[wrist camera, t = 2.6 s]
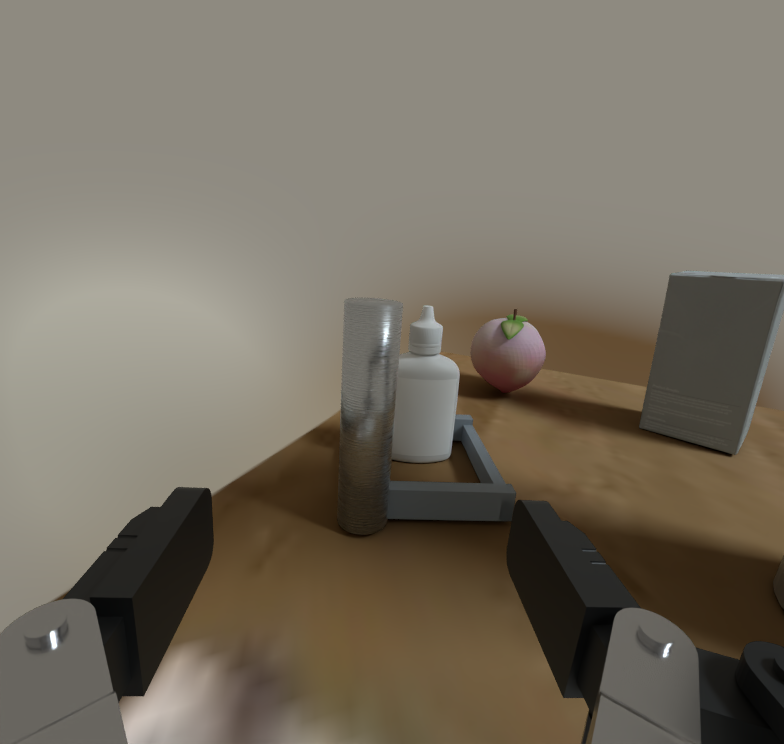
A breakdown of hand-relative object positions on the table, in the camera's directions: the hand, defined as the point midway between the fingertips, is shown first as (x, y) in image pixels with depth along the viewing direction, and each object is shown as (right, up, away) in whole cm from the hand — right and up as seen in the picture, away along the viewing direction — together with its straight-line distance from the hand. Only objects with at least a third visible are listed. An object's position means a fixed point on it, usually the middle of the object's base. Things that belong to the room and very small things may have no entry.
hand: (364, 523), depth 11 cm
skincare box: (+30, -2, +31) cm, 43 cm away
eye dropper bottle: (+3, -3, +23) cm, 24 cm away
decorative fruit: (+14, +1, +40) cm, 42 cm away
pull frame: (+3, -3, +20) cm, 21 cm away
